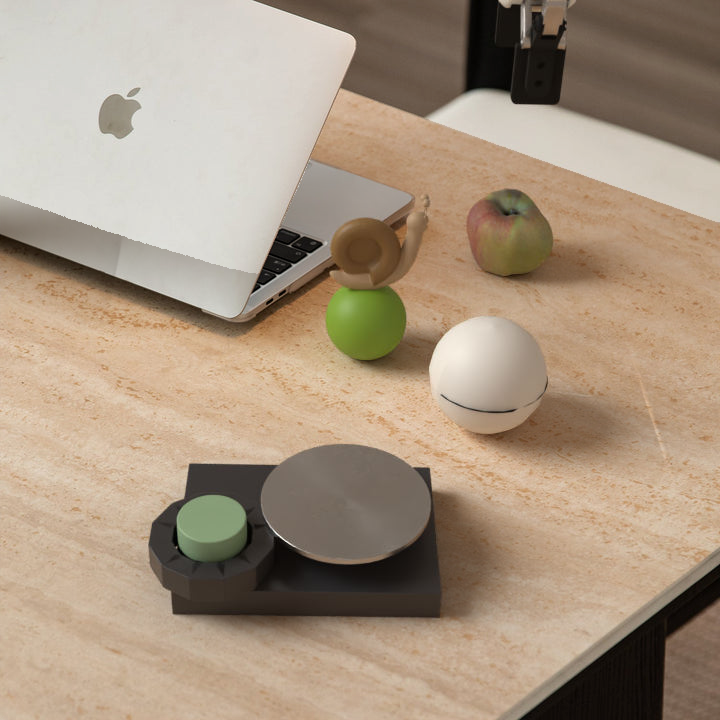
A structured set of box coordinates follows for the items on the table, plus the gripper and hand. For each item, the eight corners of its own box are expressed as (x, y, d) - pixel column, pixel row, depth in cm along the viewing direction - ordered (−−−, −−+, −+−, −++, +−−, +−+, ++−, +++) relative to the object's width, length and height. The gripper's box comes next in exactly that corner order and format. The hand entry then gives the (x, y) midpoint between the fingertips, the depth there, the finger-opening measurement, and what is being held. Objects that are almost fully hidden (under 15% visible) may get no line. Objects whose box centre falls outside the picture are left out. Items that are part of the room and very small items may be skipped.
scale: (146, 626, 64) (142, 578, 62) (169, 486, 73) (165, 441, 71) (440, 629, 65) (445, 582, 63) (427, 491, 74) (431, 445, 71)
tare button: (174, 563, 64) (173, 541, 63) (181, 515, 67) (180, 493, 66) (245, 564, 64) (244, 542, 63) (248, 516, 67) (248, 494, 66)
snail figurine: (422, 375, 83) (435, 218, 76) (326, 376, 82) (330, 218, 75) (414, 329, 87) (425, 176, 80) (323, 330, 87) (326, 176, 80)
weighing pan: (256, 563, 63) (256, 558, 63) (264, 447, 71) (264, 442, 71) (436, 566, 64) (436, 560, 63) (425, 450, 71) (425, 444, 71)
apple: (478, 230, 99) (485, 163, 95) (564, 266, 95) (575, 198, 91) (433, 259, 95) (439, 191, 91) (521, 298, 91) (530, 228, 87)
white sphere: (403, 433, 78) (410, 337, 74) (456, 373, 83) (465, 280, 79) (550, 490, 74) (567, 392, 70) (596, 424, 79) (614, 329, 75)
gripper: (479, -223, 83) (460, 26, 93) (508, -158, 69) (483, 127, 79) (591, -220, 83) (560, 28, 93) (643, -155, 69) (600, 128, 79)
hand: (525, 73), depth 86 cm, fingers open, 9 cm apart
